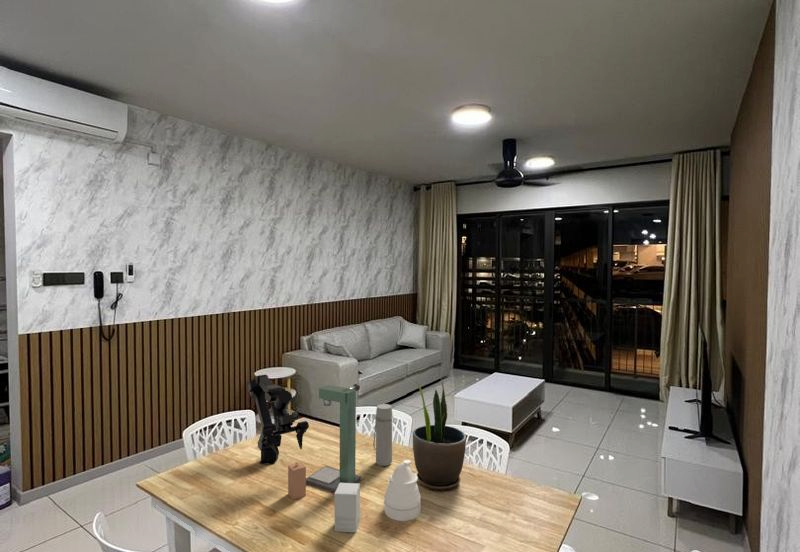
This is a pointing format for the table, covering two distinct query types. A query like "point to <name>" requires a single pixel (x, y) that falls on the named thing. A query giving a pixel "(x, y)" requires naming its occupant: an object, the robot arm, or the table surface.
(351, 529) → the supplement box
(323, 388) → the arbor press
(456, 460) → the potted plant
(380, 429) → the water bottle
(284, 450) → the table surface
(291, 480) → the block
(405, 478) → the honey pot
